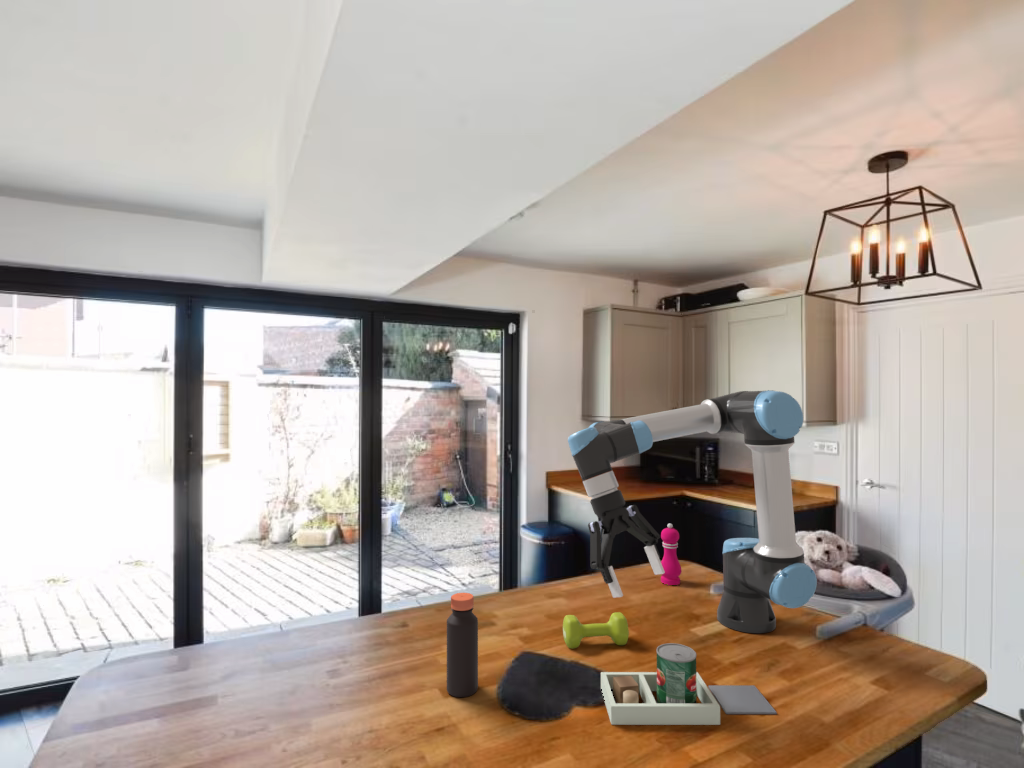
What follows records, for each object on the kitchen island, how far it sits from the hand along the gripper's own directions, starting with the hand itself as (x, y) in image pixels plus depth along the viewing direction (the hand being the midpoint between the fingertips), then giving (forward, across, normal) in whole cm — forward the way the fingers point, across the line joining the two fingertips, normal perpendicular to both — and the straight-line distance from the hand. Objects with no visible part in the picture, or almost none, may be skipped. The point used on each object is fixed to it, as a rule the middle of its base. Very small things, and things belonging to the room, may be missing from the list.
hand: (639, 585), depth 122 cm
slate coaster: (+27, -8, +8) cm, 30 cm away
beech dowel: (+20, +15, +1) cm, 25 cm away
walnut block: (+20, +12, -3) cm, 23 cm away
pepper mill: (+16, -52, -47) cm, 71 cm away
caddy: (+22, +8, +1) cm, 23 cm away
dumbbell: (+14, 0, -26) cm, 29 cm away
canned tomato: (+23, +5, +3) cm, 24 cm away
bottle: (+7, +38, -23) cm, 45 cm away
